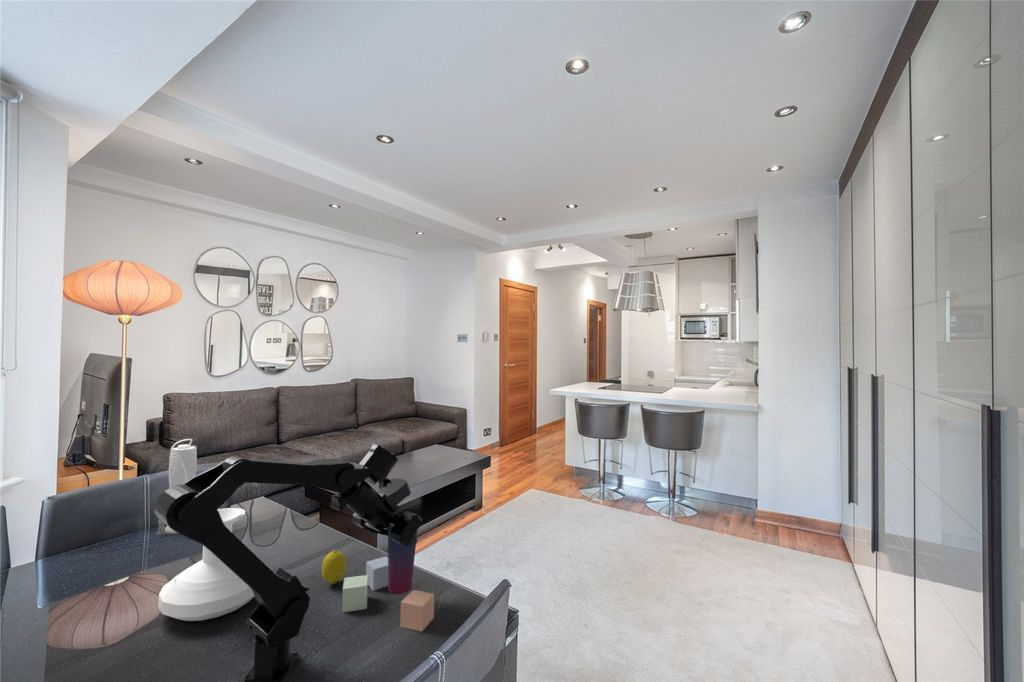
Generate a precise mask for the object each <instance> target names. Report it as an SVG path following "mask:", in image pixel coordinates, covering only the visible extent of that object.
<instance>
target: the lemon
mask: <svg viewBox="0 0 1024 682" xmlns="http://www.w3.org/2000/svg"><path fill="white" fill-rule="evenodd" d="M346 570H347V560H346V556H345V555H344V553H343V552H341V551H339V550H336V549H334V550H332V551H331V552H328V554H326V555H325V557H324V559H323V561H322V564H321V575H322V578H323V580H324V581H325V582H327V583H330V584H331V585H335V584H336V583H337V582H338V581H340V580H341V579H343V577H344V576H345V573H346Z"/></svg>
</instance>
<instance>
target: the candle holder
mask: <svg viewBox="0 0 1024 682" xmlns="http://www.w3.org/2000/svg"><path fill="white" fill-rule="evenodd" d="M217 510H218V512H219V514H220V516H221V518H222V520H223V523H224V525H225V526H226V528H228V529H229V530H230V531H231V532H232V533H233V524H234V523H236V522H237V521H238V520H239V519H241V518H242V517H243V516H244V515H245V514H246V510H245V509H243V508H240V507H239V508H238V507H227V508H219V509H218V508H217ZM253 598H255V596H254V593H253V591H252V589H251V588H250V587H249V586H248V585H247V584H246V583H244V582H243V581H242V580H241V579H240V578H239V577H238V576H237V575H236V574H234V573H233V572H232V571H231V570H230V569H229V568H228V567H227V566H225V565H224V564H223V563H222V562H221V561H220V560H219V559H218V558H217V557H215V556H214V555H213V554H212V553H211V552H210V551H209V550H208V549H206V548H205V547H204V546H203V545H202V559H201V560H199V561H197V562H196V563H194V564H193V565H191V566H189V567H188V568H186V569H184V570H183V571H181V572H180V573H178V574H177V575H175V576H174V577H173V578H172V579H171V580H170V581H168V582H167V583H166V584H164V585H163V586H162V588H161V590H160V592H159V594H158V608H159V611H160V612H161V614H162V615H165V616H167V617H171V618H173V619H177V620H180V621H184V622H196V621H197V622H199V621H200V622H201V621H205V620H210V619H211V620H212V619H215V618H218V617H222V616H224V615H227V614H229V613H232V612H234V611H236V610H238V609H240V608H241V607H243V606H244V605H246V604H248V603H249V602H250V601H251V600H252V599H253Z"/></svg>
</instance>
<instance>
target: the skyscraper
mask: <svg viewBox="0 0 1024 682" xmlns="http://www.w3.org/2000/svg"><path fill="white" fill-rule="evenodd" d="M184 441H185V442H186V441H190V442H189V443H188V444H179V443H181V442H184ZM192 443H193V438H184V439H181V440H178V441H176V442H175V443H174V444H173V445H172V446H171V447H170V453H169V458H168V459H169V460H168V485H169V488H171V487H174V486H177V485H182V484H184V483H185V482H187V481H188V480H190V479H191V478H193V477H195V476H197V467H198V466H197V465H198V464H197V462H198V456H197V455H198V453H197V452H198V451H197V446H196V445H192ZM177 444H179V445H177ZM176 445H177V447H175V446H176ZM157 524H158V529H157V533H156V536H157V535H159V536H160V535H172V534H173V535H175V534H179V533H178V532H176V531H174V530H173V529H171V528H170V527H169V526H167V525H166V524H165V523H164V522H162V521H161V520H160V519H159V518H158V523H157Z"/></svg>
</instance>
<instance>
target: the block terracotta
mask: <svg viewBox="0 0 1024 682" xmlns="http://www.w3.org/2000/svg"><path fill="white" fill-rule="evenodd" d="M399 618H400V619H399V620H400V621H399V622H400V624H399V625H400V628H404V629H409V630H413V631H416V632H422V633H423V631H424V630H425V629H426V627H427V626H428V625H429V624H430V623H431V622H432V621H433V619H434V618H435V593H432V592H426V591H422V590H417V589H413V590H412V591H410V593H409V594H408V595H406V596H405V597H404V598H403V600H401V601H400V617H399Z"/></svg>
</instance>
